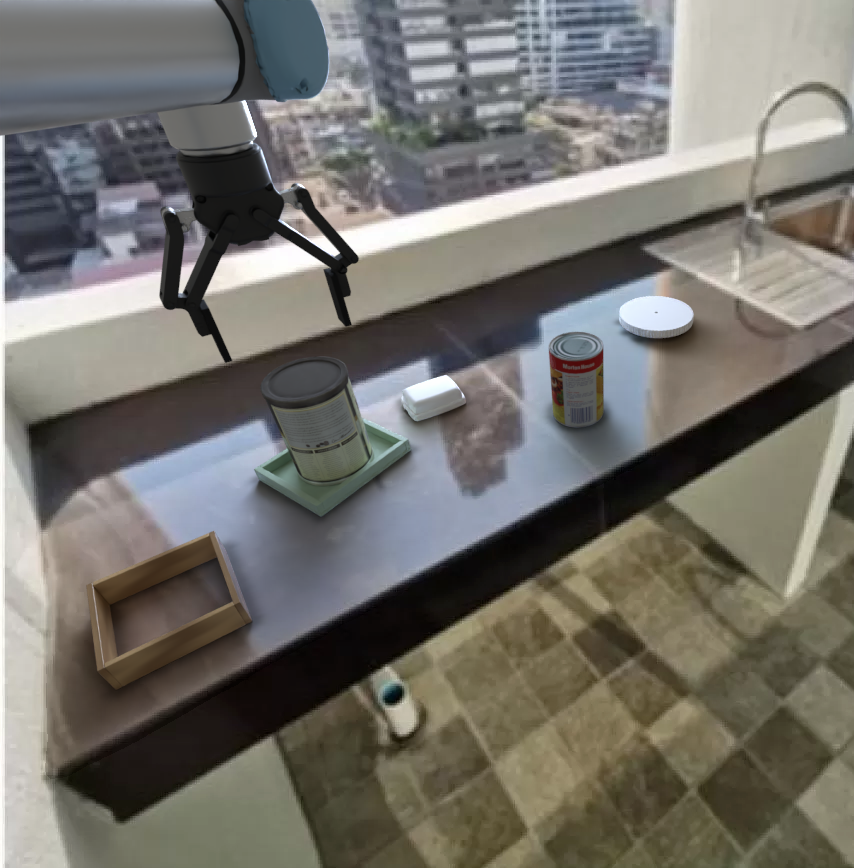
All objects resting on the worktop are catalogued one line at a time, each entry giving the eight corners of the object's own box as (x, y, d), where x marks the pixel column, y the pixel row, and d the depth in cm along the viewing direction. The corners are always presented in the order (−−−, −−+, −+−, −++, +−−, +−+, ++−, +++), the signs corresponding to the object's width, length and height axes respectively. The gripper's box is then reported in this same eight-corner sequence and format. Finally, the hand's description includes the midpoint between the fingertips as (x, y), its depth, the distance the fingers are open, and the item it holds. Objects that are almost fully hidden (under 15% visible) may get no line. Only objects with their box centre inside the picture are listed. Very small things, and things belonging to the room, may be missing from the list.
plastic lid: (611, 338, 111) (612, 326, 110) (627, 304, 122) (627, 292, 120) (687, 346, 109) (688, 334, 107) (696, 311, 119) (697, 299, 118)
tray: (321, 517, 77) (316, 506, 76) (258, 480, 82) (253, 469, 81) (411, 449, 87) (408, 439, 86) (350, 420, 93) (347, 410, 91)
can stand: (116, 690, 59) (96, 671, 57) (102, 604, 67) (85, 584, 65) (252, 621, 65) (240, 602, 63) (225, 549, 73) (214, 530, 71)
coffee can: (281, 467, 84) (242, 383, 75) (344, 429, 90) (316, 347, 81) (326, 498, 79) (290, 411, 70) (389, 455, 85) (364, 371, 76)
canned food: (594, 393, 98) (593, 327, 90) (610, 421, 92) (610, 353, 84) (547, 402, 96) (542, 336, 88) (560, 432, 90) (556, 363, 82)
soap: (415, 423, 92) (411, 408, 90) (399, 402, 96) (395, 386, 94) (469, 403, 96) (466, 388, 94) (451, 383, 100) (448, 368, 98)
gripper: (332, 122, 67) (377, 298, 80) (58, 159, 55) (164, 359, 68) (357, 134, 62) (400, 319, 75) (63, 177, 50) (175, 389, 63)
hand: (288, 339), depth 72 cm, fingers open, 13 cm apart
